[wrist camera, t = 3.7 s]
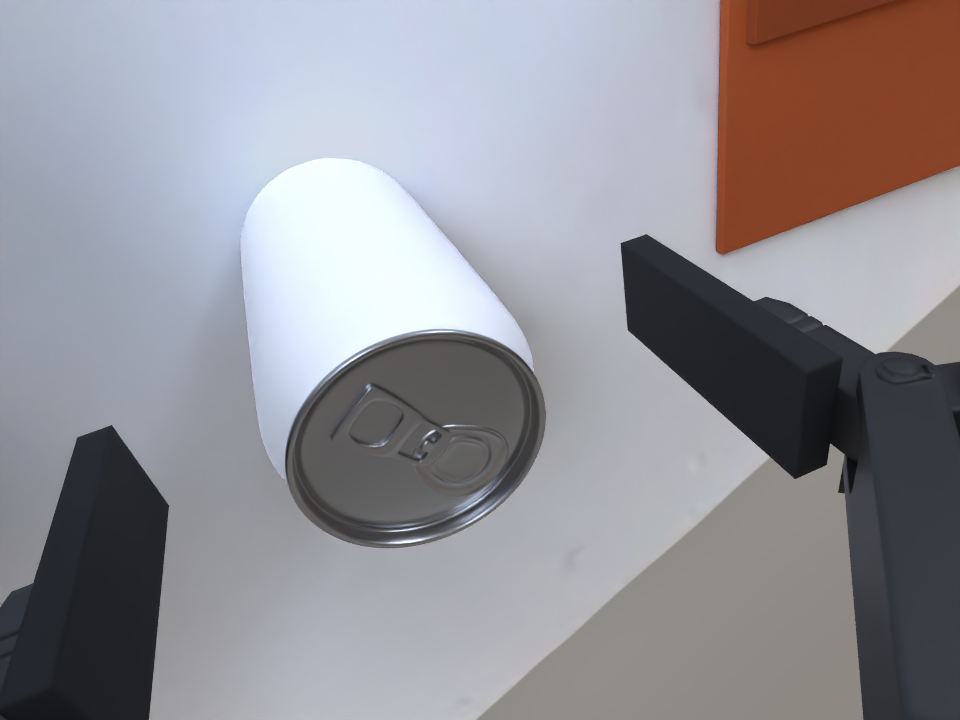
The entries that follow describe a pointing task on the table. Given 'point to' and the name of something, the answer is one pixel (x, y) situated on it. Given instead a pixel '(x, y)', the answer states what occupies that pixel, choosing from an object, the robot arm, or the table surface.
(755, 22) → the orange envelope wallet
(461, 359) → the can
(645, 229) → the table surface
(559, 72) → the table surface
